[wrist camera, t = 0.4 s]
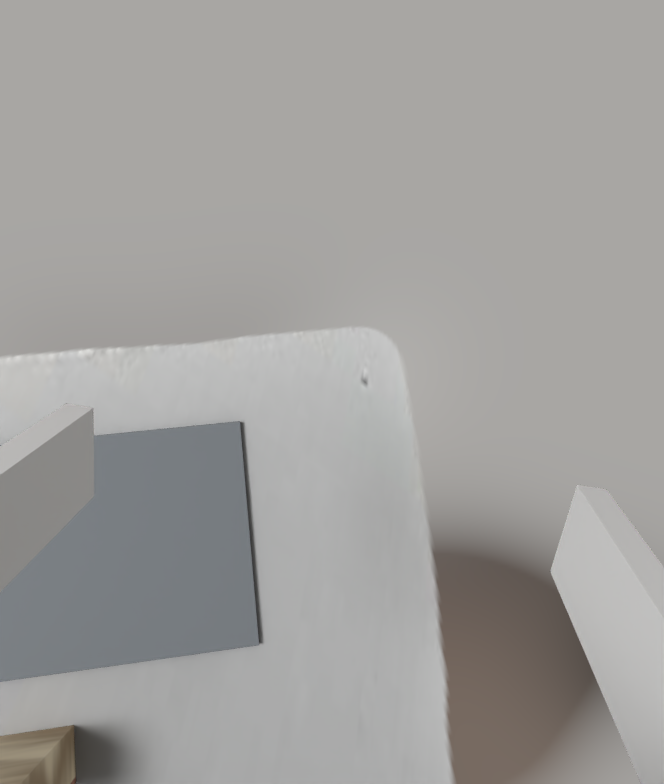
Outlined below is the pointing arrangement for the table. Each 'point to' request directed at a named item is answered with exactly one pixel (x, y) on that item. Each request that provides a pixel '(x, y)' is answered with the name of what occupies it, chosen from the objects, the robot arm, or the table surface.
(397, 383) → the table surface
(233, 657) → the table surface
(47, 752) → the face block
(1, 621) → the mat
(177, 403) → the table surface
